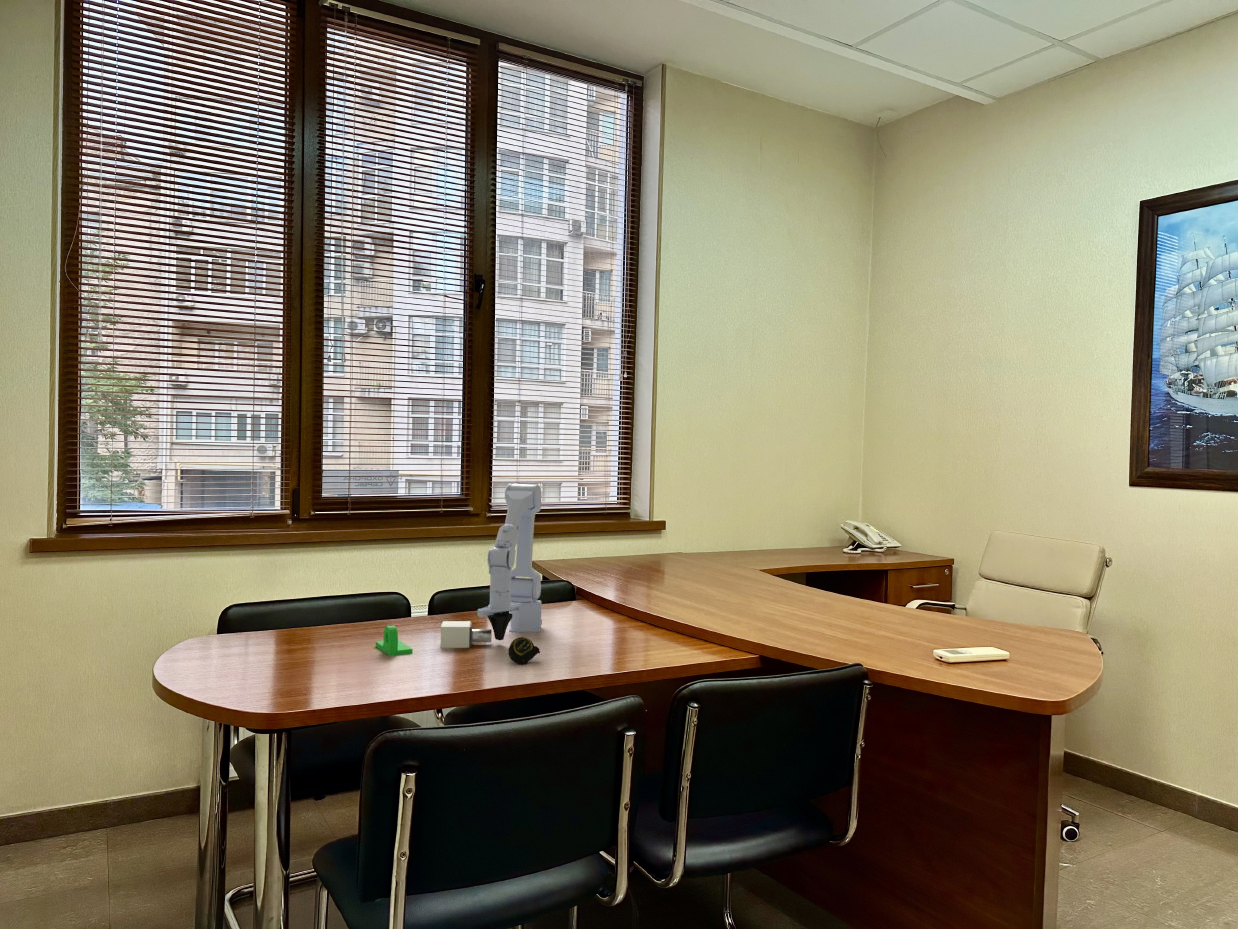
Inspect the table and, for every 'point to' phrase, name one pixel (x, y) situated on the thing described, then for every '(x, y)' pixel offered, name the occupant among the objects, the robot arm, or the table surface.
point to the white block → (456, 634)
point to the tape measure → (522, 650)
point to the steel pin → (481, 635)
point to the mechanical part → (392, 643)
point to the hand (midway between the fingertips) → (499, 639)
